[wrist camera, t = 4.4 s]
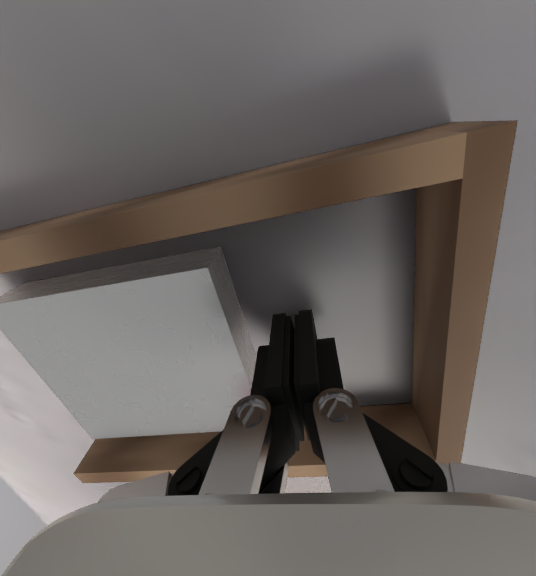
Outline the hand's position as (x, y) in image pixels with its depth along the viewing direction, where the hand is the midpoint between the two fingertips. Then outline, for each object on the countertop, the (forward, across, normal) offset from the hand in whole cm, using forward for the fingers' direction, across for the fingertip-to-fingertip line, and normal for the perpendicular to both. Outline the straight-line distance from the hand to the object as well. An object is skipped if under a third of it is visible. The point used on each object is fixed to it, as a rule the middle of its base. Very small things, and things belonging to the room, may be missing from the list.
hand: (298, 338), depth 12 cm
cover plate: (+2, +8, 0) cm, 8 cm away
